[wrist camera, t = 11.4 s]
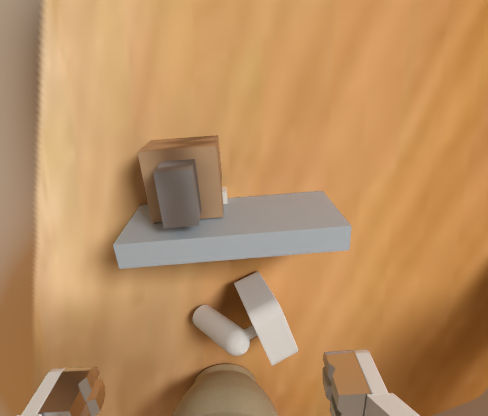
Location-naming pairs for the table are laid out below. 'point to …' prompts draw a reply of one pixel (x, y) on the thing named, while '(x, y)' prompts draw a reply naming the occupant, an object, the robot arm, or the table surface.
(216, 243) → the wall board
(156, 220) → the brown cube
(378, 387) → the robot arm
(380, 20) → the table surface
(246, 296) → the wall hook
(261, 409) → the planter bowl
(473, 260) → the table surface
